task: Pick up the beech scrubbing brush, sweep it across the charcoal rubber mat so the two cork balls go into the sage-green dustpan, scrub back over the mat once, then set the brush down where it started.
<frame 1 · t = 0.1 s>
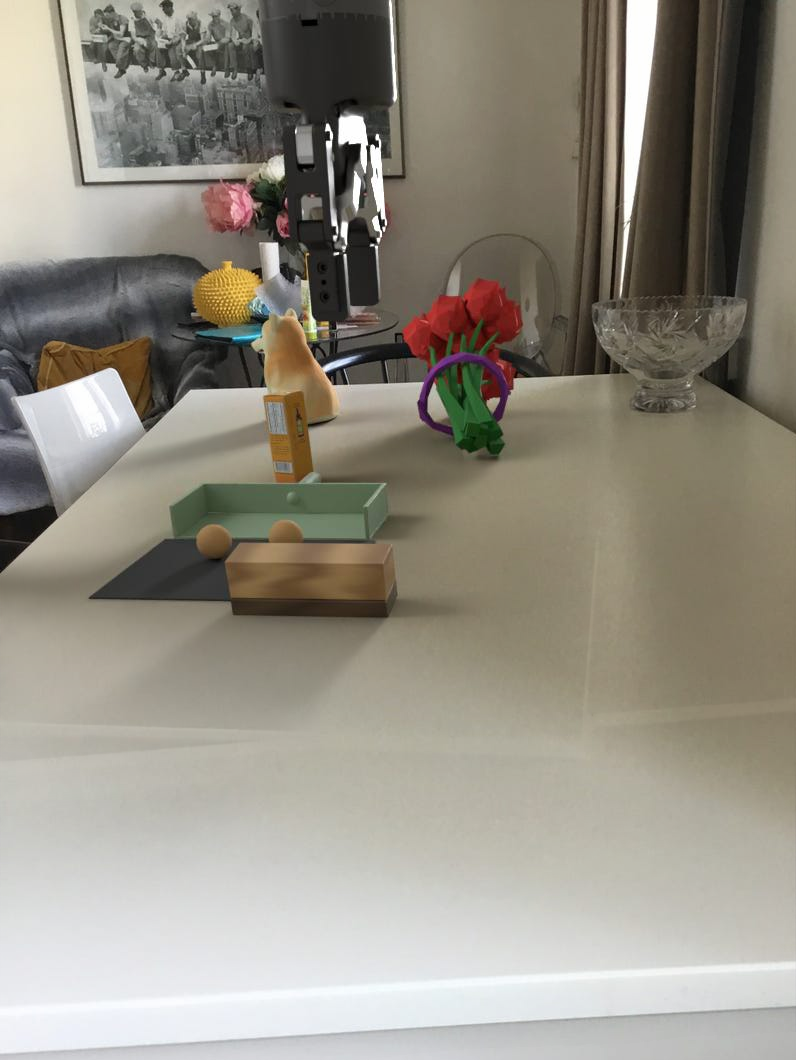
hand: (348, 312, 66), 22 cm above the table, tool pointing down, fingers open, 8 cm apart
dustpan: (283, 527, 101), on the table
supplement box: (293, 484, 117), on the table
bouquet: (474, 435, 138), on the table
figurine: (300, 418, 152), on the table
mat: (241, 570, 90), on the table
ball b: (285, 537, 92), point 2 cm above the table, touching mat
brush: (316, 606, 81), on the table, tilted 6°, touching mat
ball a: (214, 541, 92), point 2 cm above the table, touching mat
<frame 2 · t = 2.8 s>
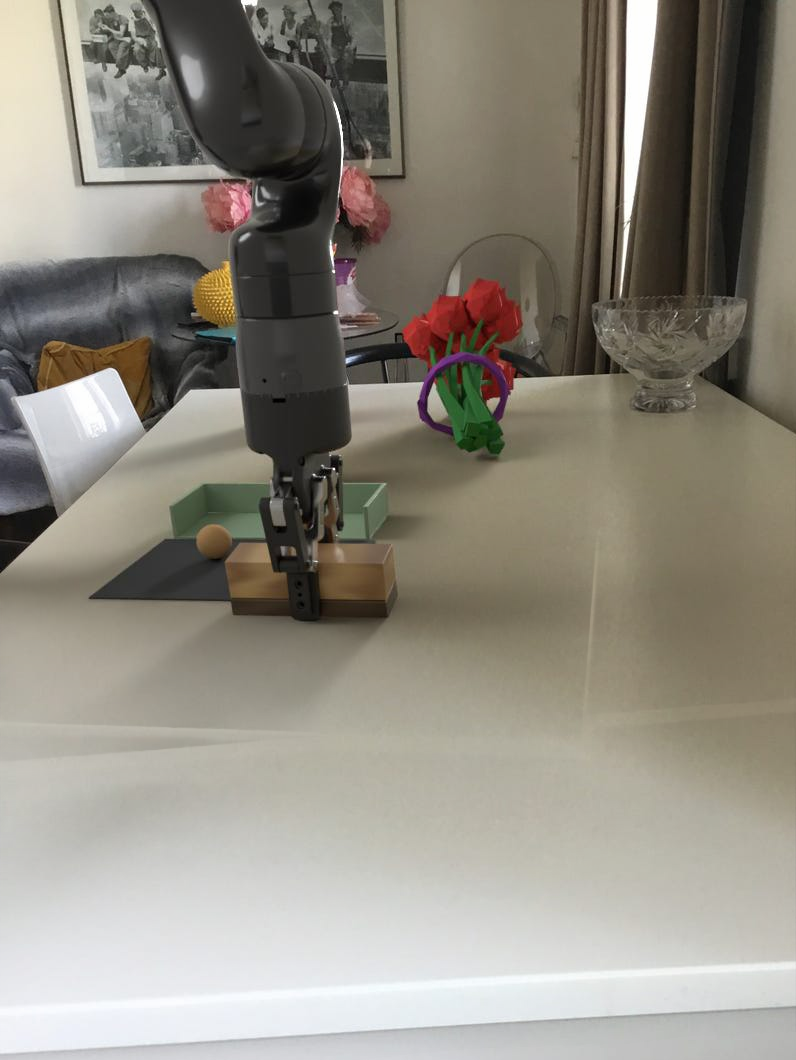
hand: (316, 604, 81), 0 cm above the table, tool pointing down, fingers open, 4 cm apart
nothing on the table moved.
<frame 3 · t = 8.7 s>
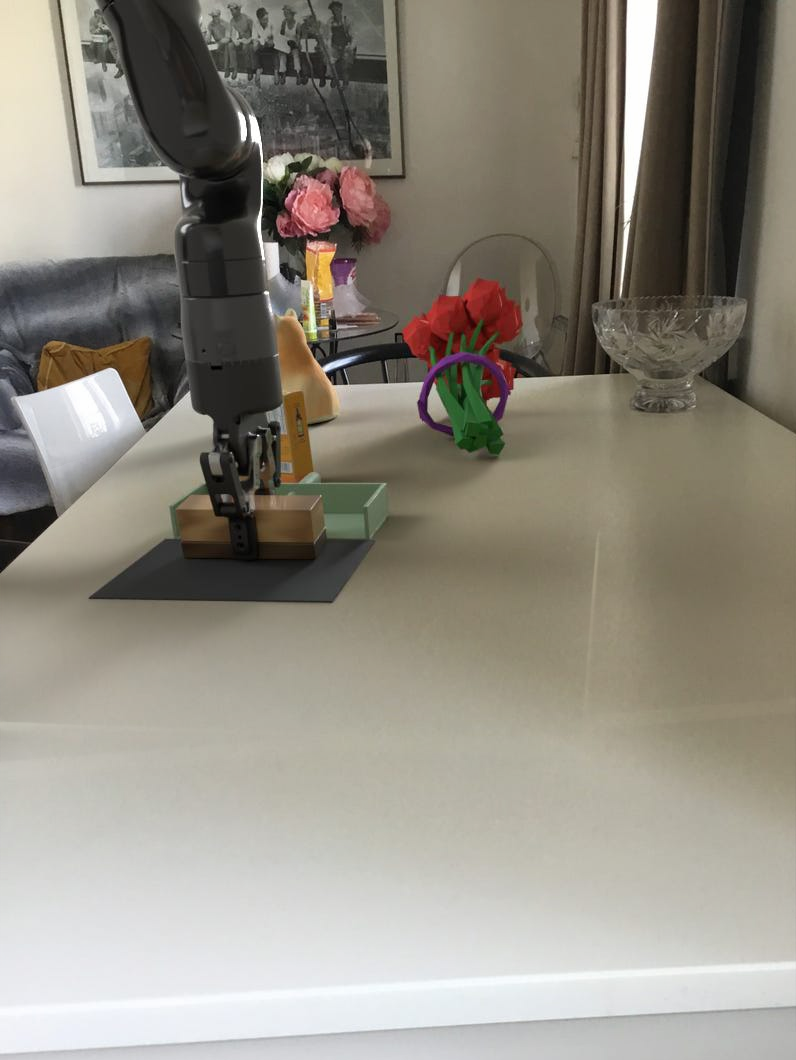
hand: (255, 549, 93), 1 cm above the table, tool pointing down, fingers closed on brush, 4 cm apart
ball b: (302, 520, 97), point 2 cm above the table, tilted 172°, touching dustpan
brush: (256, 550, 93), point 1 cm above the table, touching gripper
ball a: (244, 516, 99), point 2 cm above the table, tilted 69°, touching dustpan
everything else where it was.
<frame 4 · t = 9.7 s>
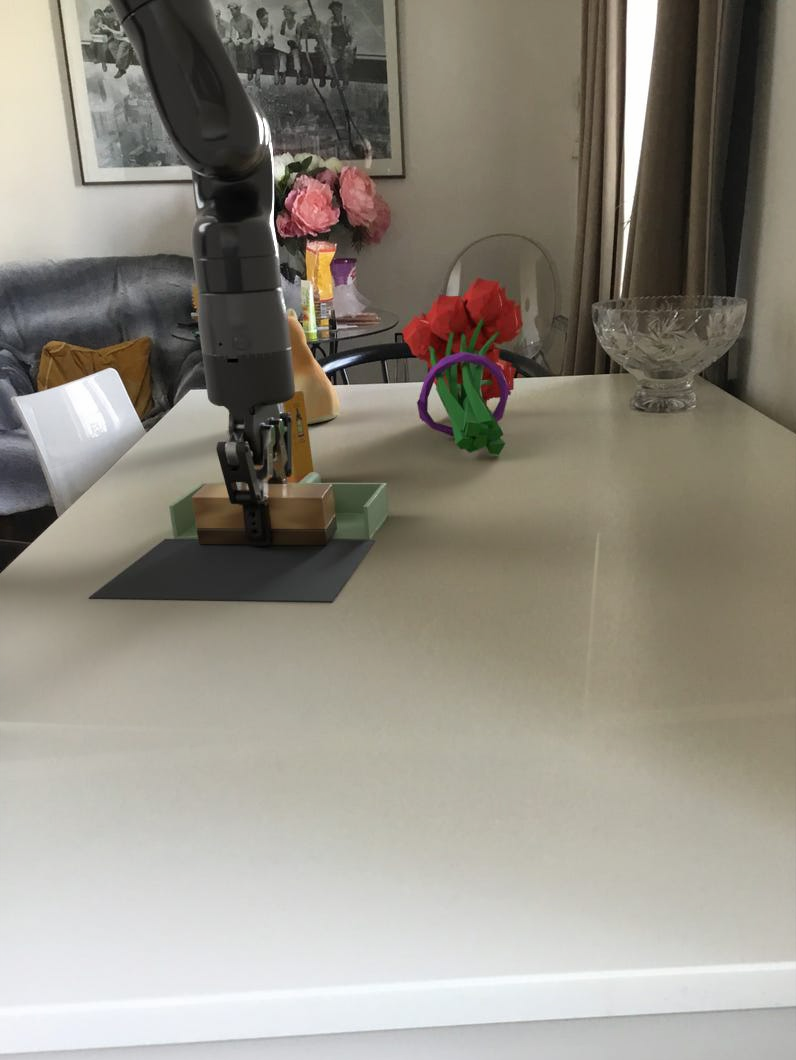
hand: (268, 535, 97), 1 cm above the table, tool pointing down, fingers closed on brush, 4 cm apart
ball b: (319, 503, 102), point 2 cm above the table, tilted 49°, touching dustpan
brush: (268, 536, 97), point 1 cm above the table, touching gripper
ball a: (259, 502, 103), point 2 cm above the table, tilted 108°, touching dustpan
everything else where it was.
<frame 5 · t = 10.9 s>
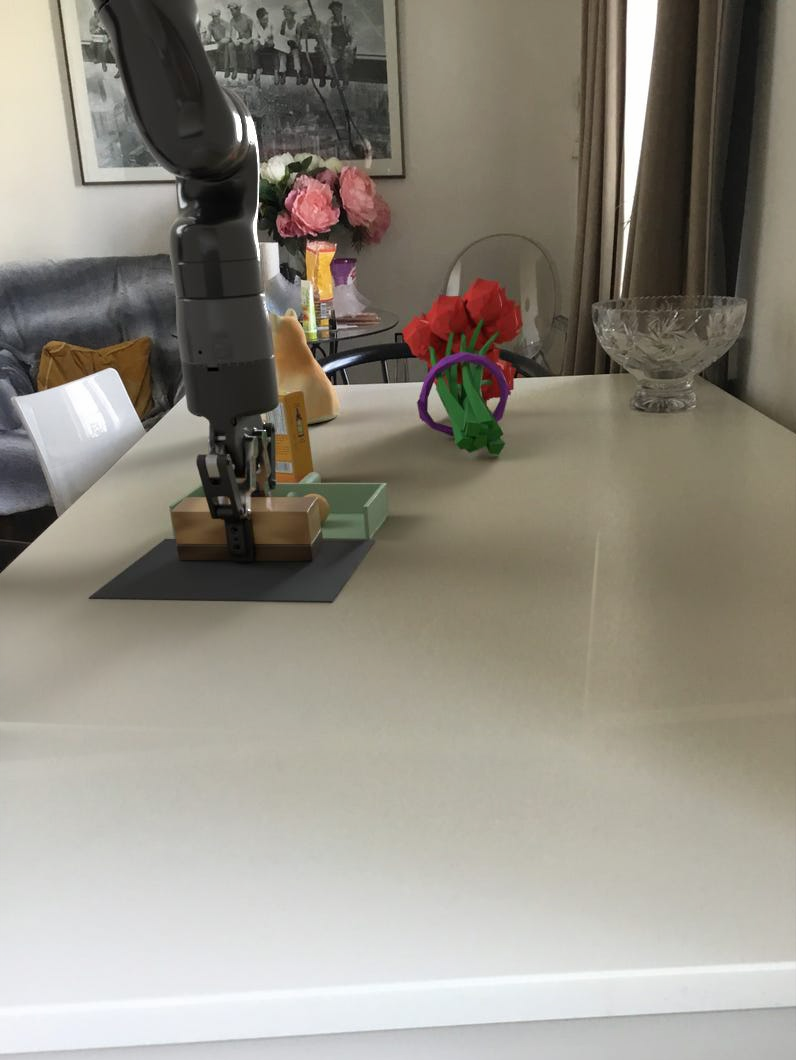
hand: (251, 551, 93), 1 cm above the table, tool pointing down, fingers closed on brush, 4 cm apart
ball b: (313, 509, 100), point 2 cm above the table, tilted 34°, touching dustpan
brush: (252, 552, 93), resting on mat, touching gripper
ball a: (258, 504, 103), point 2 cm above the table, tilted 91°, touching dustpan
everything else where it was.
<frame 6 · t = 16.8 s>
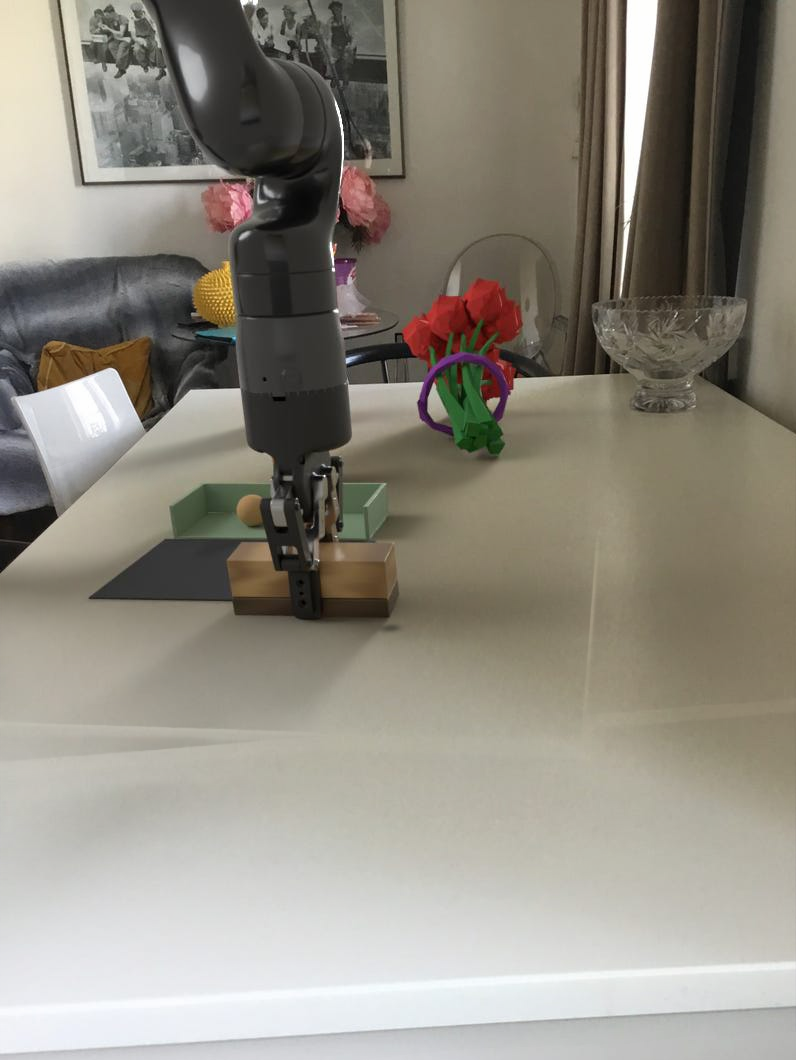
hand: (316, 604, 81), 0 cm above the table, tool pointing down, fingers closed on brush, 4 cm apart
ball b: (300, 523, 96), point 2 cm above the table, tilted 159°, touching dustpan, mat
brush: (317, 605, 81), on the table, touching gripper
ball a: (252, 510, 101), point 2 cm above the table, tilted 8°, touching dustpan
everything else where it was.
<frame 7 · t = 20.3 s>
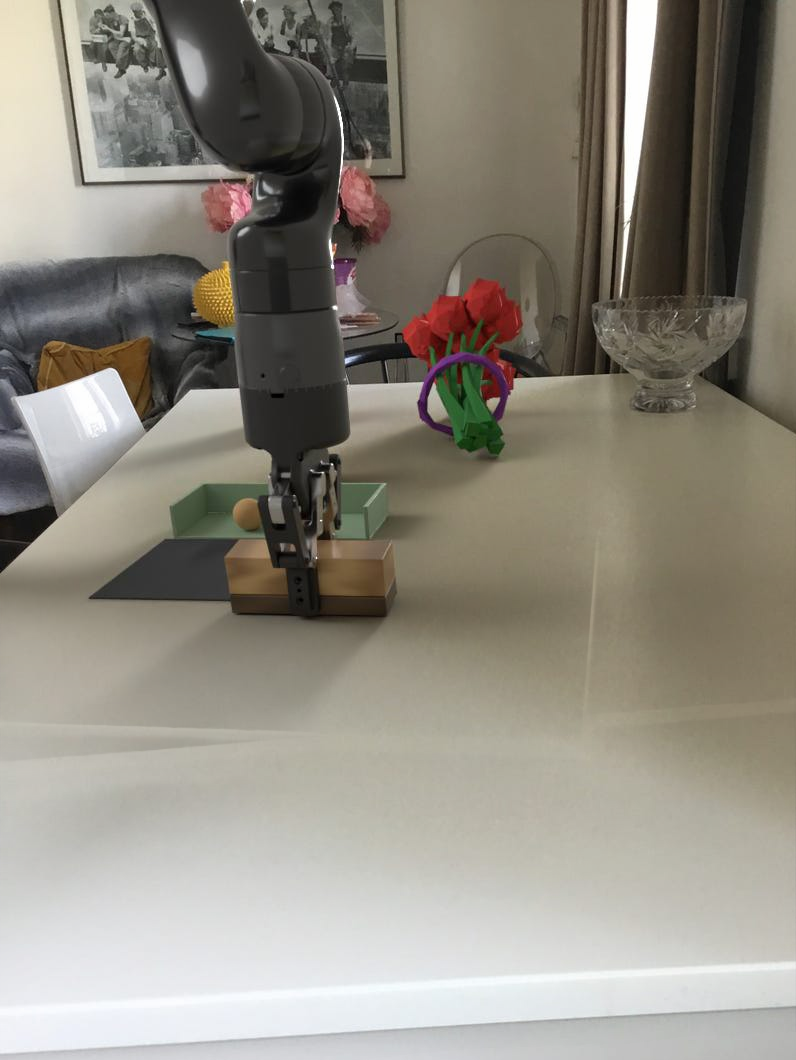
hand: (314, 601, 81), 1 cm above the table, tool pointing down, fingers closed on brush, 4 cm apart
brush: (315, 603, 81), on the table, touching gripper
ball a: (249, 514, 99), point 2 cm above the table, tilted 42°, touching dustpan
everything else where it was.
when the fingers open (1 cm above the table, at t = 21.3 s): brush stays where it is, resting on mat.
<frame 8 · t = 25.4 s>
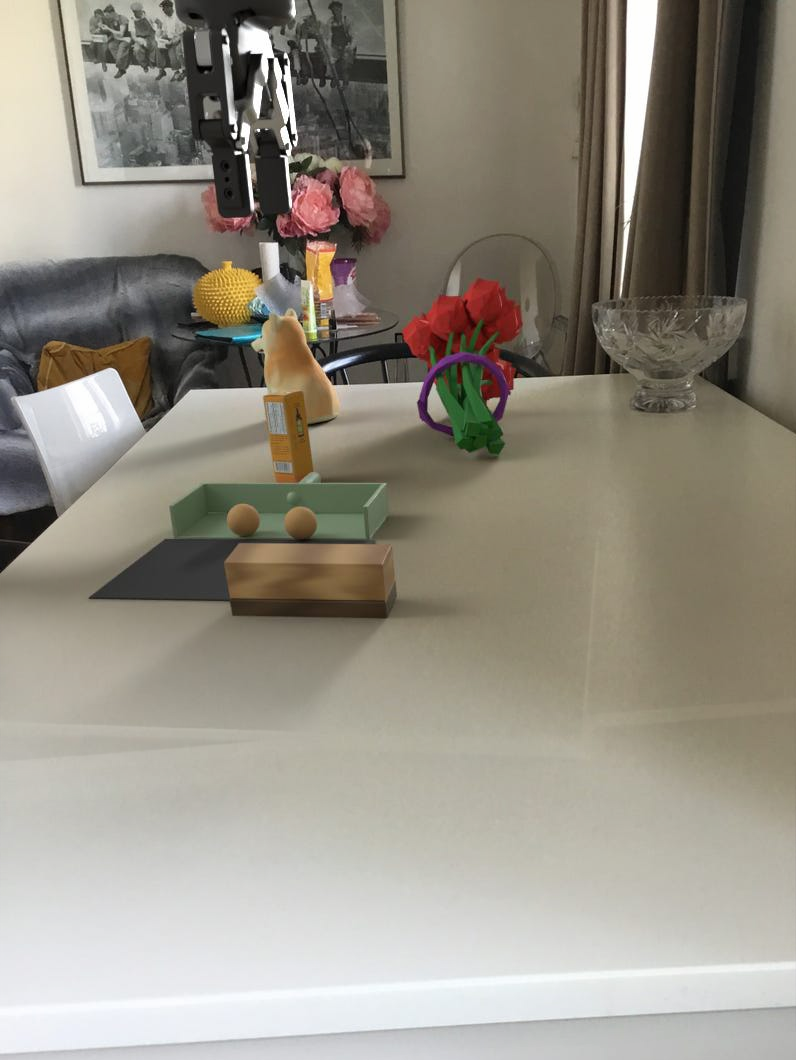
hand: (257, 215, 72), 28 cm above the table, tool pointing down, fingers open, 8 cm apart
brush: (315, 606, 81), on the table, tilted 6°, touching mat
ball a: (243, 520, 98), point 2 cm above the table, tilted 114°, touching dustpan
everything else where it was.
at the end: ball a inside the target area in the dustpan (4.5 cm from its centre), point 1.8 cm above the dustpan's base; ball b inside the target area in the dustpan (5.4 cm from its centre), point 1.8 cm above the dustpan's base; brush inside the target area (0.0 cm from its centre), on the table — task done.
